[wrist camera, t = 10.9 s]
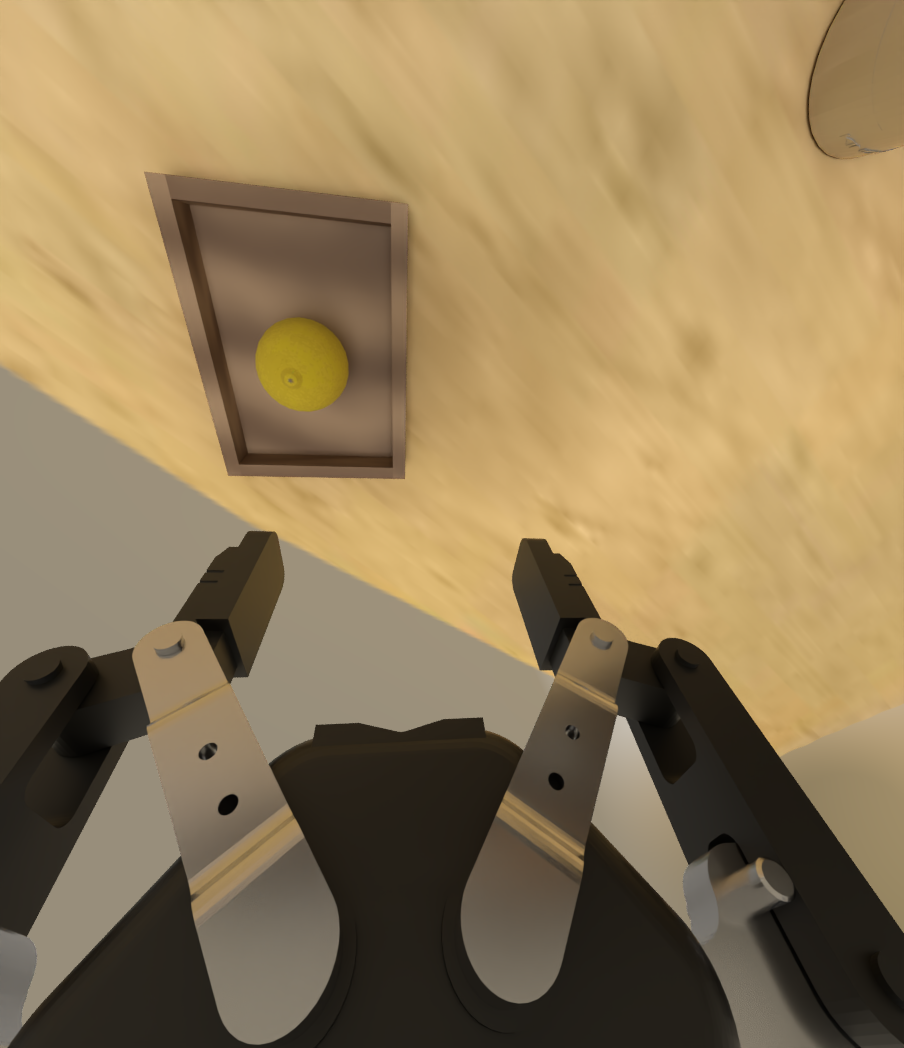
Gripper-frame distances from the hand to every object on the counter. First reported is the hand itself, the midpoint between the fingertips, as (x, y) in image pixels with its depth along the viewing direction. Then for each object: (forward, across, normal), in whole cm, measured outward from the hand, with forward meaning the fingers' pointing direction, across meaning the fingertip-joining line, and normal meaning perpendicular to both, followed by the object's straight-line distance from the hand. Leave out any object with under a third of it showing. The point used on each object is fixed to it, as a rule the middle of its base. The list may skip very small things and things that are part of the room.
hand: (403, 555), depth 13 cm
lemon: (+21, +7, -2) cm, 22 cm away
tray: (+22, +7, -2) cm, 23 cm away
